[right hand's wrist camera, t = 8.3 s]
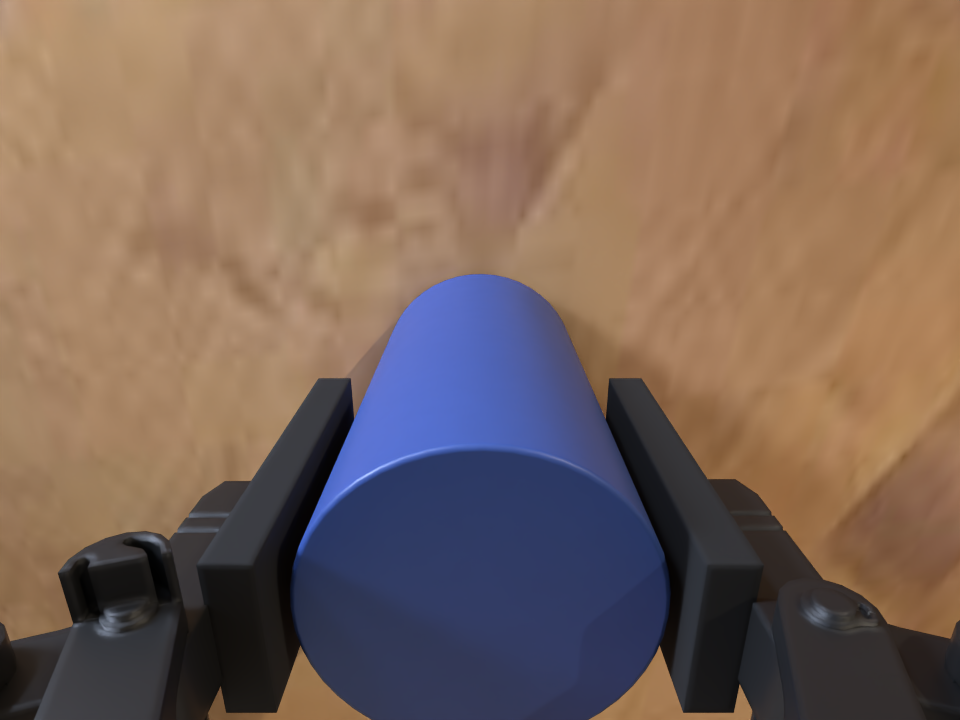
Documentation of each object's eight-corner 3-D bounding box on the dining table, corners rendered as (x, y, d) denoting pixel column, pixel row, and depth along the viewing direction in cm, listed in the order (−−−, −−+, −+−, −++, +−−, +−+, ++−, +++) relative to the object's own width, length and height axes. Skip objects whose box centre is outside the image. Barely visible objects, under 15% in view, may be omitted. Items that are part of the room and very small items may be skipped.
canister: (552, 455, 20) (621, 766, 10) (379, 432, 20) (280, 729, 10) (589, 288, 18) (720, 475, 8) (398, 259, 18) (296, 418, 8)
